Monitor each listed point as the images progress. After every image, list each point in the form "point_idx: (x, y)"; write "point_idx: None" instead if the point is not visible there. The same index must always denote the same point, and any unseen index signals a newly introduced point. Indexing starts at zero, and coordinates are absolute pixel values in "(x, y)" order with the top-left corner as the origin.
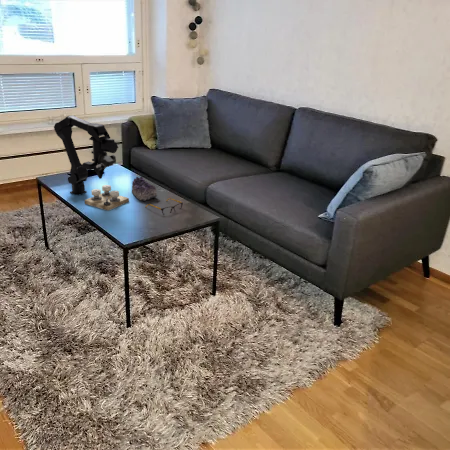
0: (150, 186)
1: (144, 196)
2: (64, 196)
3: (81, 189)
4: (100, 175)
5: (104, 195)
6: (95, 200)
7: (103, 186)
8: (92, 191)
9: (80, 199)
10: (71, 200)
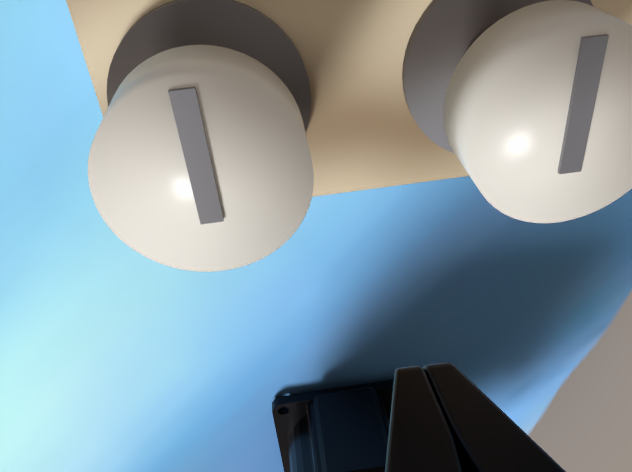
0: None
1: None
2: (515, 421)
3: (380, 429)
4: (534, 461)
5: (304, 72)
6: (587, 2)
7: (264, 224)
8: None
9: (500, 277)
10: (580, 311)
